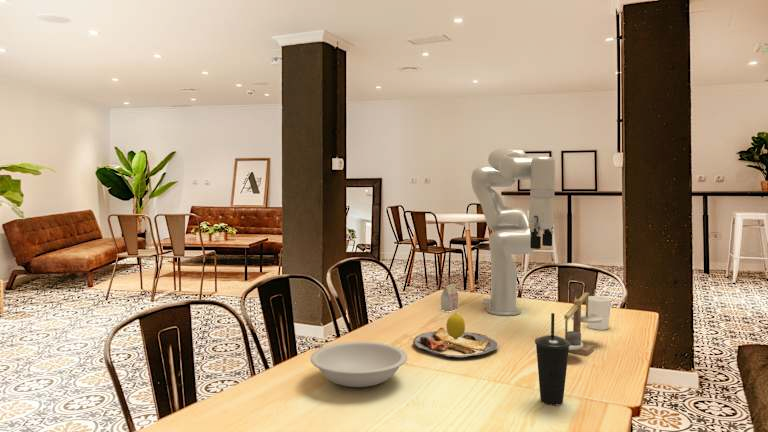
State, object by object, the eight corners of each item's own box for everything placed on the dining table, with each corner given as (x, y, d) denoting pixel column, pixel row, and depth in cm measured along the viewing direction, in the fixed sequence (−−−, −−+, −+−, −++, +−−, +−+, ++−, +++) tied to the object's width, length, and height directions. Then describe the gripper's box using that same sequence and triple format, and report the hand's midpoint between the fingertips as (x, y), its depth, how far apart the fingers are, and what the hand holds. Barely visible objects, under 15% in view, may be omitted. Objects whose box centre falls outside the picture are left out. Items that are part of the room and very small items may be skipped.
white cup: (606, 324, 184) (606, 296, 184) (613, 330, 176) (614, 301, 176) (582, 324, 185) (583, 295, 184) (589, 330, 177) (589, 300, 177)
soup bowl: (373, 409, 115) (373, 380, 115) (290, 387, 128) (289, 360, 127) (424, 375, 135) (424, 350, 135) (348, 359, 148) (348, 336, 148)
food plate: (398, 347, 160) (398, 336, 159) (444, 332, 177) (444, 322, 176) (467, 369, 143) (468, 356, 142) (511, 350, 160) (511, 338, 159)
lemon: (466, 337, 161) (466, 311, 161) (462, 342, 156) (463, 316, 156) (448, 336, 163) (448, 310, 163) (444, 341, 158) (444, 314, 157)
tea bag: (440, 311, 204) (441, 285, 204) (449, 307, 210) (449, 283, 209) (449, 312, 202) (449, 286, 202) (457, 309, 208) (458, 284, 207)
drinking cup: (528, 394, 123) (530, 309, 122) (560, 393, 123) (562, 309, 122) (541, 408, 115) (542, 318, 114) (575, 407, 116) (577, 317, 115)
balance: (544, 359, 148) (544, 303, 147) (576, 337, 169) (577, 288, 168) (576, 365, 142) (577, 307, 141) (605, 342, 163) (607, 291, 162)
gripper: (541, 194, 181) (540, 244, 182) (520, 195, 168) (519, 248, 169) (563, 194, 177) (562, 245, 178) (543, 195, 163) (542, 250, 164)
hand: (541, 247), depth 173 cm, fingers open, 9 cm apart
